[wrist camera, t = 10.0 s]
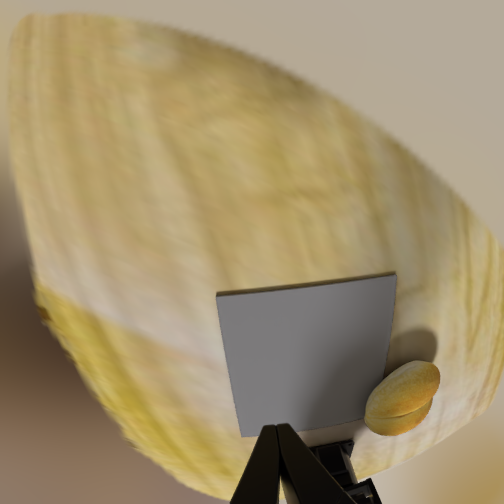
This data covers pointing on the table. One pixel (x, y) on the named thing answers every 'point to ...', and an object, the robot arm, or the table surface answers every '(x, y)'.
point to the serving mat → (306, 351)
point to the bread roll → (402, 398)
